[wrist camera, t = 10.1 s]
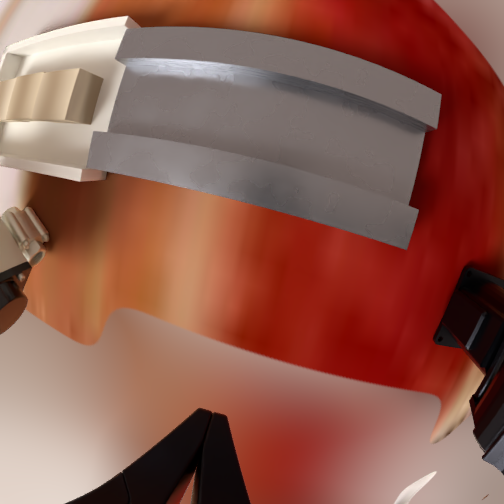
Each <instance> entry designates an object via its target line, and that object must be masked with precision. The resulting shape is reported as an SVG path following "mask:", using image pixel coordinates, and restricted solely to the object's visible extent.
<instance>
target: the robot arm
mask: <svg viewBox="0 0 504 504" xmlns="http://www.w3.org/2000/svg"><path fill="white" fill-rule="evenodd" d="M468 271H469V274H468V275H467V273H468ZM440 336H441V337H440ZM439 337H440V338H439ZM438 338H439V339H438ZM433 340H434V342H435V343H436V344H437V345H443V346H449V347H455V348H461V349H463V350H464V352H465V353H466V354H467V355H468V356H469V357H470V359H471V360H472V361H473V362H474V363H475V365H476V366H477V367H478V368H479V369H480V371H481V372H482V373H483V374H484V376H485V377H484V379H483V380H482V382H481V384H480V386H479V387H478V389H477V391H476V392H475V394H473V395H472V397H471V399H470V400H469V403H470V407H471V411H472V416H473V420H474V425H475V428H474V430H473V434H474V437H475V439H476V441H477V443H478V444H479V446H480V448H481V449H482V450H483V451H484V453H485V454H484V455H483V456H482V459H483V460H484V461H486V462H488V463H490V464H492V465H494V466H495V467H496V468H497V469H498V470H500V471H501V472H502V473H503V475H504V280H502V279H500V278H497V277H495V276H493V275H490V274H488V273H485V272H483V271H480V270H478V269H475V268H473V267H470V266H466V267H465V268H464V269H463V271H462V273H461V276H460V278H459V281H458V284H457V286H456V289H455V291H454V293H453V296H452V298H451V301H450V303H449V305H448V307H447V310H446V312H445V314H444V316H443V318H442V320H441V322H440V325H439V327H438V329H437V331H436V333H435V335H434V337H433ZM196 467H197V468H196ZM195 470H196V472H195ZM122 472H123V473H122ZM122 472H120V473H119V474H117V475H116V476H114V477H113V478H112V479H111V480H109V481H107V482H106V483H104V484H103V485H101V486H100V487H98V488H96V489H94V490H93V491H91V492H89V493H87V494H85V495H83V496H81V497H79V498H76V499H74V500H72V501H70V502H67V503H65V504H180V502H181V500H182V498H183V496H184V494H185V492H186V490H187V488H188V486H189V484H190V482H191V480H192V477H193V475H194V473H195V477H194V484H193V491H192V498H191V504H251V503H250V500H249V496H248V493H247V490H246V486H245V483H244V479H243V476H242V472H241V469H240V465H239V461H238V458H237V454H236V450H235V447H234V443H233V439H232V434H231V430H230V427H229V423H228V418H227V416H226V415H224V414H220V413H216V412H214V413H212V412H211V411H209V410H206V409H202V408H198V409H197V410H196V411H194V412H193V413H192V414H191V415H190V416H189V417H188V418H187V419H185V420H184V421H183V422H182V423H181V424H180V425H178V426H177V427H176V428H175V429H174V430H173V431H172V432H170V433H169V434H168V435H167V436H166V437H164V438H163V439H162V440H161V441H160V442H158V443H157V444H156V445H155V446H153V447H152V448H151V449H150V450H148V451H147V452H146V453H145V454H143V455H142V456H141V457H140V458H138V459H137V460H136V461H134V462H133V463H132V464H131V465H130V466H128V467H127V468H126V469H124V470H123V471H122Z"/></svg>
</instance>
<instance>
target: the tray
mask: <svg viewBox="0 0 504 504" xmlns="http://www.w3.org/2000/svg"><path fill="white" fill-rule="evenodd" d="M130 28H141V27H140V26H139V25H138V24H137V23H136V22H135V21H134V20H133V19H131V18H130V17H129V16H124V17H116V18H109V19H103V20H97V21H92V22H87V23H82V24H77V25H73V26H69V27H65V28H61V29H57V30H53V31H50V32H47V33H43V34H40V35H37V36H34V37H31V38H28V39H25V40H22V41H20V42H17V43H14V44H12V45H9V46H7V47H6V48H5V51H4V53H3V56H2V58H1V61H0V82H1V81H5V80H9V79H13V78H17V77H19V76H24V75H28V74H34V73H39V72H52V71H59V70H67V69H76V68H81V69H83V70H85V71H88V72H90V73H92V74H95V75H97V76H99V77H101V78H103V79H104V80H103V83H102V86H101V89H100V93H99V96H98V100H97V103H96V107H95V110H94V114H93V118H92V122H91V125H88V124H71V123H54V122H47V121H30V122H0V166H4V167H9V168H15V169H20V170H25V171H30V172H35V173H41V174H45V175H50V176H55V177H60V178H65V179H70V180H75V181H79V182H83V181H96V180H106V174H107V171H102V170H96V169H91V168H86V165H87V160H88V154H89V149H90V144H91V140H92V135H93V131H100V132H107V131H108V126H109V122H110V118H111V115H112V111H113V107H114V103H115V100H116V96H117V93H118V90H119V87H120V83H121V80H122V77H123V74H124V71H125V68H126V66H125V65H124V64H122V63H120V62H119V61H117V60H115V57H116V54H117V51H118V49H119V46H120V43H121V41H122V38H123V36H124V34H125V31H126V29H130Z"/></svg>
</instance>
